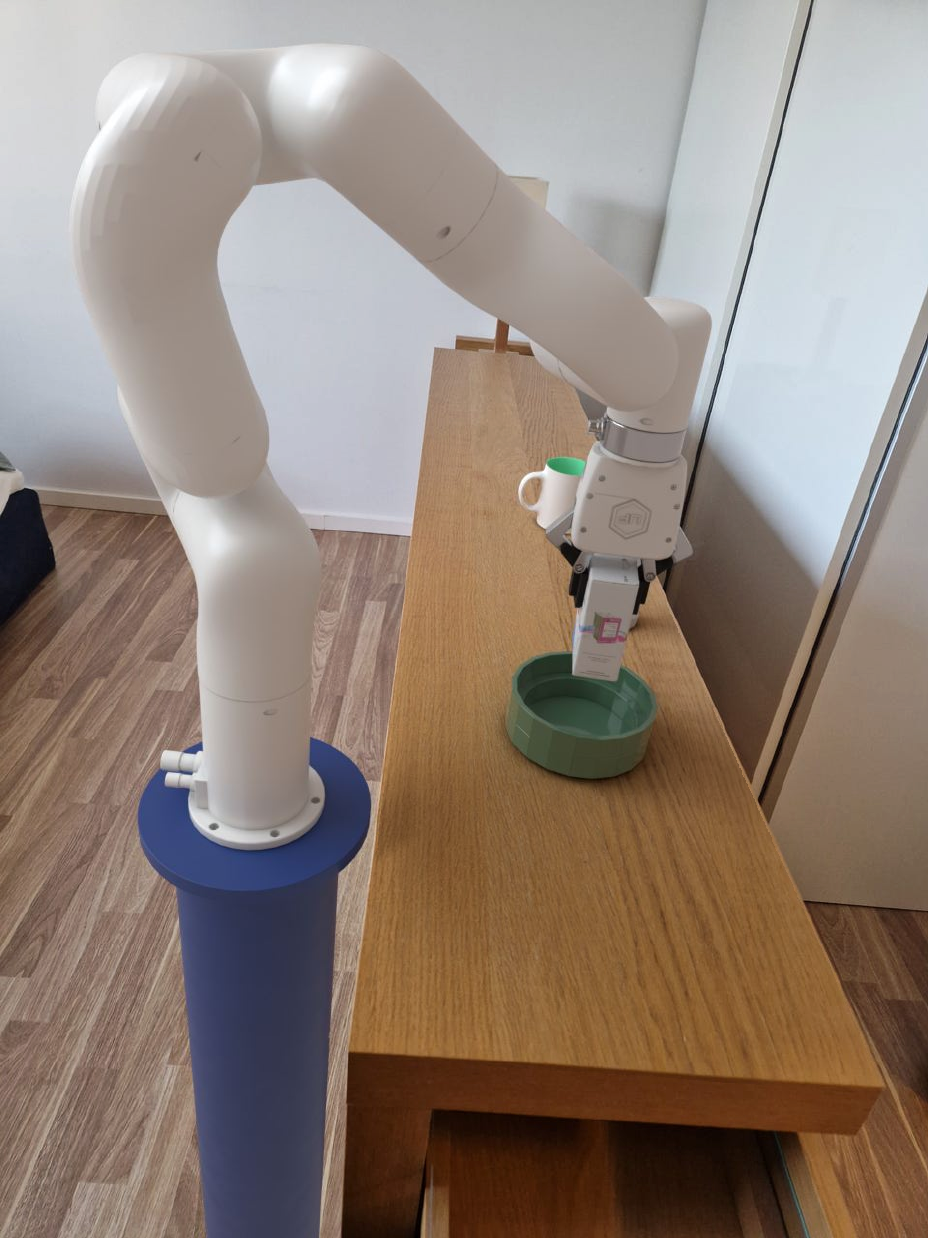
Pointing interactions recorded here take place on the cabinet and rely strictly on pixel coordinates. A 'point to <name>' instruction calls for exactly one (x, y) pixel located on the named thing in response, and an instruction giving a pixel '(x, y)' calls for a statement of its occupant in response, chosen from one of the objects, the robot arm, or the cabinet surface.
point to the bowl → (579, 717)
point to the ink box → (604, 617)
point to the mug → (554, 489)
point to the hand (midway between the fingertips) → (604, 603)
